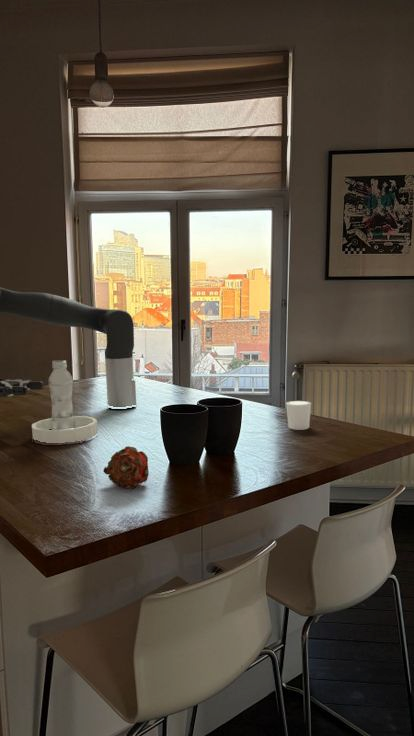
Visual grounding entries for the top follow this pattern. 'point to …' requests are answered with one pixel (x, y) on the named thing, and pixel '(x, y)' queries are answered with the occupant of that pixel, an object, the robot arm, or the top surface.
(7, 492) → the top surface
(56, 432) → the bowl
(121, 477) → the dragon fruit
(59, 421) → the plastic bottle
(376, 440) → the top surface
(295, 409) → the white cup
